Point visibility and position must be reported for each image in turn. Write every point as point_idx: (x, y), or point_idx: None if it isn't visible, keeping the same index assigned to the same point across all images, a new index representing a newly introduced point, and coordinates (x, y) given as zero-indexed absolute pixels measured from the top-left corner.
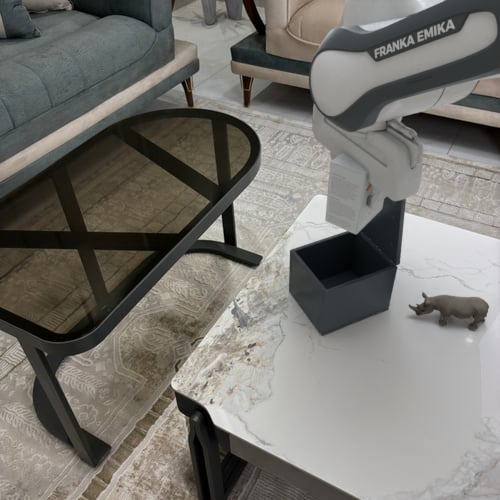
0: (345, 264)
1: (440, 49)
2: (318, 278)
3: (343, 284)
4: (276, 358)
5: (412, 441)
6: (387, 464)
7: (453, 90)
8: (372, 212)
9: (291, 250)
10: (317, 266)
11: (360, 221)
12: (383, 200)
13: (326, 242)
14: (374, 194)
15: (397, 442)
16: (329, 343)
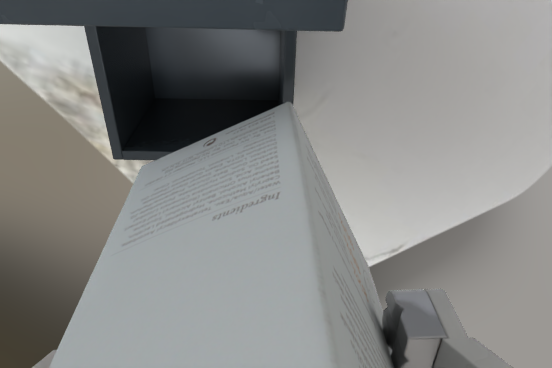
0: None
1: None
2: (143, 37)
3: None
4: None
5: (534, 90)
6: (527, 142)
7: None
8: (338, 210)
9: (116, 156)
10: (133, 53)
11: (376, 295)
12: (461, 324)
13: (104, 51)
14: (410, 357)
15: (518, 111)
16: (307, 100)
